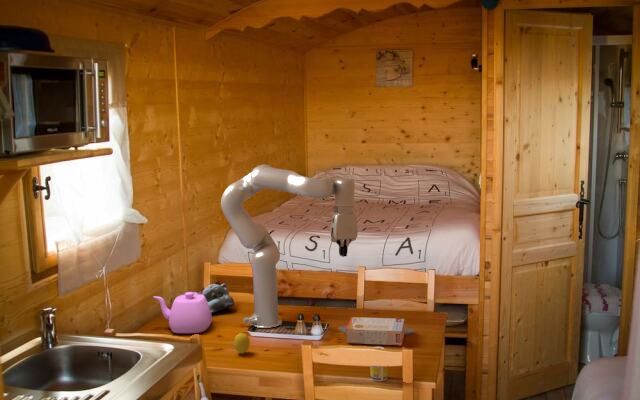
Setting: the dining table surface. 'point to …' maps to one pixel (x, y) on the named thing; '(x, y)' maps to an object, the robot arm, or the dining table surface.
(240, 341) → the lemon
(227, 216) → the robot arm
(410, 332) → the slate mat
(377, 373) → the supplement bottle
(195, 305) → the teapot
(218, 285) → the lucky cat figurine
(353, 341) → the cracker box
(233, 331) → the dining table surface
